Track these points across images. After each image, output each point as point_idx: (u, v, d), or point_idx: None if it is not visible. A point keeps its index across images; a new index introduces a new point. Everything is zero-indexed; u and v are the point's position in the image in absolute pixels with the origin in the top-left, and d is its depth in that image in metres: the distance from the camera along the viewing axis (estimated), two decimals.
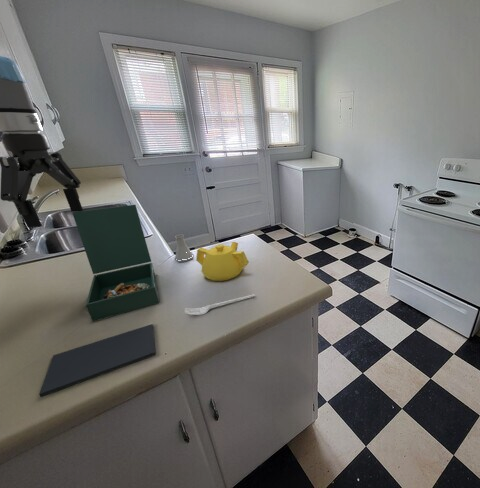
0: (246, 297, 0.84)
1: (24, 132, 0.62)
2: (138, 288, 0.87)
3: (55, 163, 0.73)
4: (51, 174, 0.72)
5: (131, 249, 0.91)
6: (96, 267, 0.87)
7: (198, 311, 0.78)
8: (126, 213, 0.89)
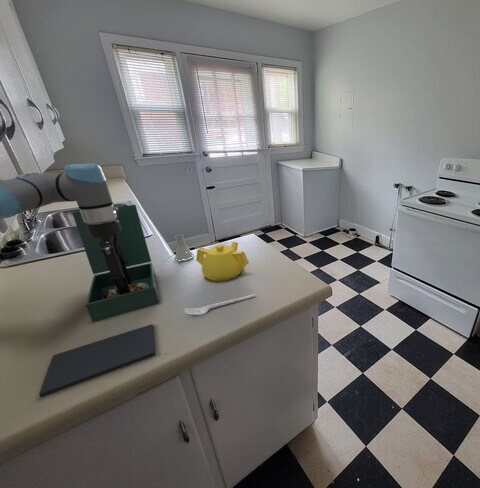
0: (246, 297, 0.84)
1: (111, 220, 0.76)
2: (138, 287, 0.87)
3: None
4: None
5: (131, 249, 0.91)
6: (96, 267, 0.87)
7: (198, 311, 0.78)
8: (126, 213, 0.89)
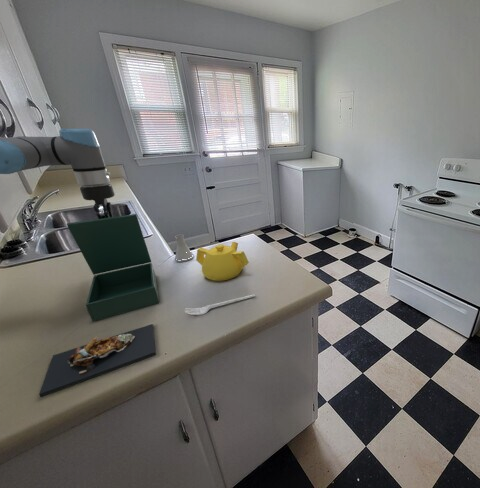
0: (246, 297, 0.84)
1: (104, 184, 0.80)
2: (119, 343, 0.64)
3: None
4: None
5: (131, 253, 0.89)
6: (96, 269, 0.86)
7: (198, 311, 0.78)
8: (126, 223, 0.82)
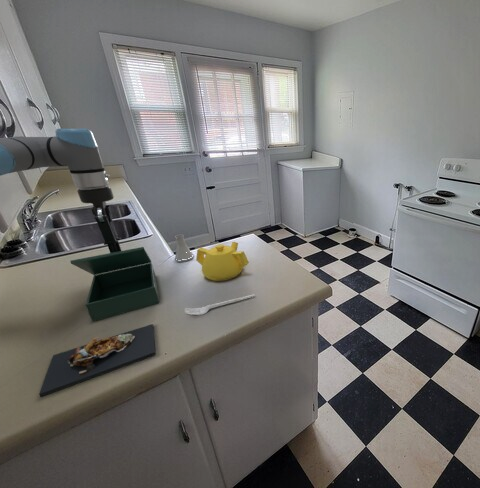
0: (246, 297, 0.84)
1: (102, 186, 0.76)
2: (119, 343, 0.64)
3: None
4: None
5: (133, 262, 0.88)
6: (97, 273, 0.86)
7: (198, 311, 0.78)
8: (132, 253, 0.78)
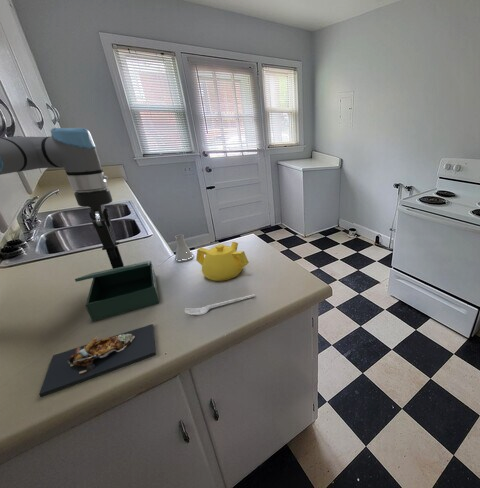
0: (246, 297, 0.84)
1: (101, 189, 0.72)
2: (119, 343, 0.64)
3: None
4: None
5: None
6: None
7: (198, 311, 0.78)
8: None
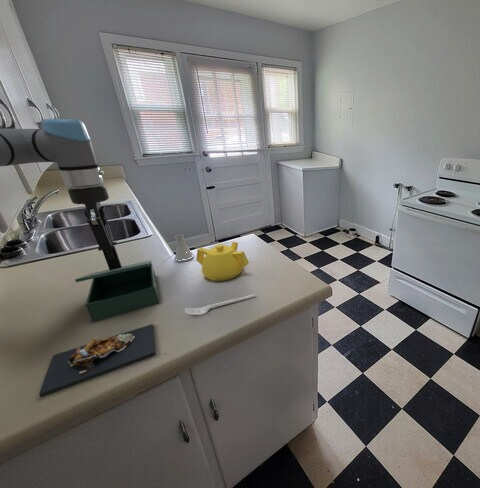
0: (246, 297, 0.84)
1: (96, 185, 0.68)
2: (119, 343, 0.64)
3: None
4: None
5: None
6: None
7: (198, 311, 0.78)
8: None
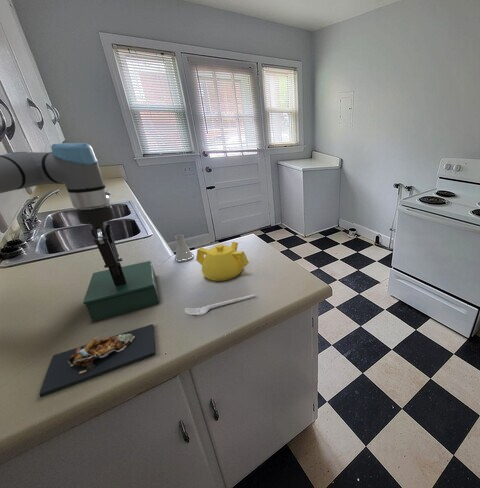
0: (246, 297, 0.84)
1: (103, 206, 0.70)
2: (119, 343, 0.64)
3: None
4: None
5: None
6: None
7: (198, 311, 0.78)
8: None
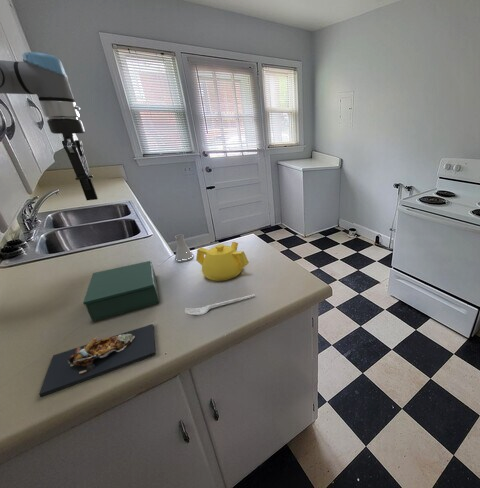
0: (246, 297, 0.84)
1: (72, 118, 0.77)
2: (119, 343, 0.64)
3: None
4: None
5: None
6: None
7: (198, 311, 0.78)
8: None
